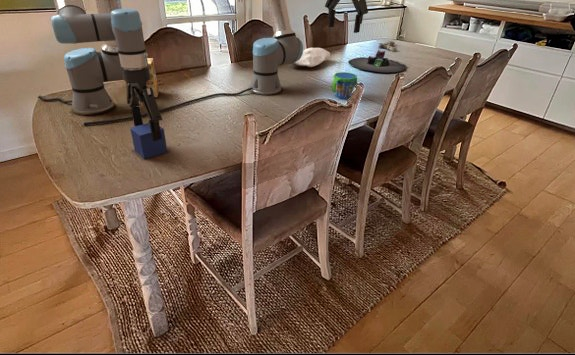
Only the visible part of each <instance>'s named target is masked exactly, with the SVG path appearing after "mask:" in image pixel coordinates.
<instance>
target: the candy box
mask: <svg viewBox="0 0 575 355" xmlns="http://www.w3.org/2000/svg"><path fill="white" fill-rule="evenodd" d="M147 60H148V65H147V66H148V67H149V71H150V76H151V78H150V80H149V81H147V82H146V84H147V87H148V88H152V89H153V94H154V97H155V98H158V96H159V91H160V90H159V84H158V79H157V73H156V66H155V62H154V58H153V57H151V58H150V57H149V58H148V57H147Z"/></svg>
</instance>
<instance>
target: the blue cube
mask: <svg viewBox="0 0 575 355" xmlns="http://www.w3.org/2000/svg"><path fill="white" fill-rule="evenodd" d="M129 130H130V134H131V138H132V143H133V147H134V152H136V153H137V154H138V155H139V156H140V157H142V159H143V160H147V159H149V158H153V157H155V156H158V155H162V154H165V153H168V147H167V141H166V140H167V139H166V135H165V129H164V128H163V127H162V126H160V130H161V136H162V139H160V140H157V141H153V139H152V134H151V128H150V123H149V122H147V123H143V124H142V125H139V126H131V127H130V128H129Z"/></svg>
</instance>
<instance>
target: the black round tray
mask: <svg viewBox="0 0 575 355" xmlns="http://www.w3.org/2000/svg"><path fill="white" fill-rule="evenodd" d="M385 55H386V51H385V50H380V49H378V50H377V52H376V53H375V55H374V56H371V55H369V56H368V57H365V56H364V57H362V56H360V57H355V58H351V59H349V60H348V61H347V63H348V64H349V65H350V66H352V67H354V68H356V69H358V70H364V71H369V72H376V73H385V74H386V73H399V72H402V71H404V70H406V68H407V65H406V64H404V63H402V62H401V63H400V62H399V61H395V60H392V59H389V58H388V57H385Z"/></svg>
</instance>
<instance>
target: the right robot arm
mask: <svg viewBox="0 0 575 355" xmlns="http://www.w3.org/2000/svg"><path fill="white" fill-rule="evenodd" d="M340 2H341V0H326V2H325V4H324V7H325V8H327V10H328V12H327V13H328V14H327V18H328V24H327V27H328V28H333V27H335V18H336V9H335V8H336V7H337V5H339V3H340ZM351 2H352V4H353V6H354V9H355V11H356V13H357V14H355V19H354V27H353V33H354V34H357V33H360V30H361V25H362V24H363V20H364V15H366V14H369V8H368V4H367V0H351ZM266 3H267V7H268V12H269V17H270V21H271V25H272V31H273V35H272V36H271V37H263V38H259V39H257V40H255V41H254V42H253V44H252V69H253V70H252V77H251V81H250V83H249V87H248V88H246V89H243V90H241V91H239V92H235V93H234V92H231V93H230V92H229V93H228V92H218V93H212V94H209V95H204V96H201V97H198V98H197V97H196V98H194V99H191V100H188V101H187V100H186V101H184V102H180V103H178V104H175V105H171V106H168V107H164V108H159V111H160V113H162V112H165V111H168V110H172V109H176V108H179V107H182V106H185V105H188V104H190V103H191V104H192V103H195V102H198V101H201V100H205V99H209V98H212V97H217V96H230V97H231V96H239V95H242V94H244V93H247V92H249V91H250V92H251V93H253V94H255V95H261V96H271V95H277V94H279V93H281V92H282V85H281V81H280V78H279V67H281V66H285V65H292V64H291V63H294V62H297V61H298V60H299V59H300V58H301V56H302V54H303V50H304V44H303V42H302V40H301V39H300V38H299V37H297V35H296V32H295V30H293V29H292V26H291V22H290V21H291V20H290V15H289V10H288V7H287V2H286V0H266ZM141 116H142V118H143V117H146V116H148V114H147V112H146V113H141ZM127 120H133V116H132V115H131V116H126V117H119V118H112V119H105V120H95V121H85V122H83V126H87V125H88V126H89V125H99V124H100V125H101V124H107V123H114V122H120V121H127Z"/></svg>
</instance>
